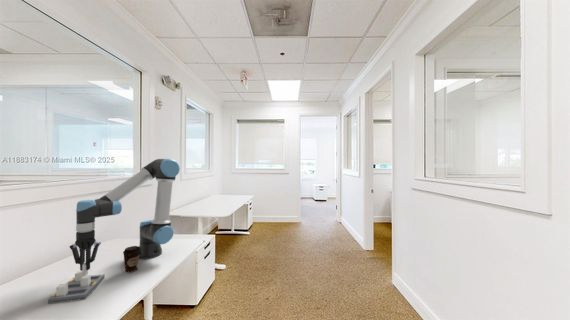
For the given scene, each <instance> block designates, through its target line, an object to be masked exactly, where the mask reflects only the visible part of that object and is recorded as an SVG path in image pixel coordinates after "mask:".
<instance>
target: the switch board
mask: <svg viewBox="0 0 570 320" xmlns="http://www.w3.org/2000/svg"><path fill="white" fill-rule="evenodd" d="M105 277H106V274H105V273H104V274H95V275H91V284H90V285H89V286H85V287H81V281H76V282H75V276H74V277H72V278H70V280H69V281H67V282H66V283H65V284H68V294H66V295H64V296H56V292H54V293H53V294H52V295H50V296H49V298H47V304H53V303H55V304H56V303H64V302H69V301H71V300H72V301H77V300H78V299H80V300H87V298H89V296H90V295H91V294H92V293H93V291H94V290H95V289H96V288H97V287H98V286H99V285H100V284H101V283H102V281H103V280H104V279H105ZM89 294H90V295H89ZM78 301H79V300H78Z"/></svg>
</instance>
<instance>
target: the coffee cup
mask: <svg viewBox="0 0 570 320" xmlns="http://www.w3.org/2000/svg"><path fill="white" fill-rule="evenodd" d="M139 251H140V250H139V245H132V246H131V245H130V246H127V247H126V248H125V249H124V251H123V252H122V255H123V262H124V263H123V266H124V271H125V273H129V274H130V273H134V272H136V271H138V269H139V268H138V265H139V259H140V258H139Z"/></svg>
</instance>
